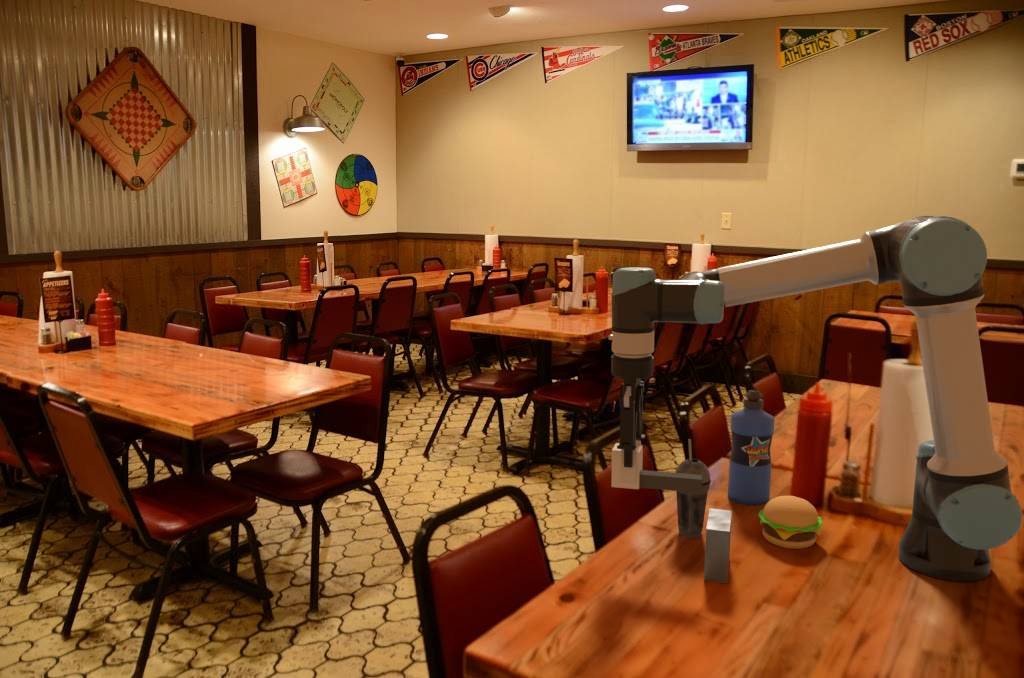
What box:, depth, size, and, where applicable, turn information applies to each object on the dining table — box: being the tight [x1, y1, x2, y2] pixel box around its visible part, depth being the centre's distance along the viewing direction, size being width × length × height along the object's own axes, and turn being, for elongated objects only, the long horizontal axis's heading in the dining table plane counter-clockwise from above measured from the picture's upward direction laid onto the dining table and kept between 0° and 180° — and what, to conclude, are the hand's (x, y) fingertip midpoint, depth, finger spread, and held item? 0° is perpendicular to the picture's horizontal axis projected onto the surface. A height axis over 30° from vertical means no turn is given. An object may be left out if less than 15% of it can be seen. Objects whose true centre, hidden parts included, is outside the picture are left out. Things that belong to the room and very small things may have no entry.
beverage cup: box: [674, 438, 712, 539], centre depth 161 cm, size 7×7×20 cm
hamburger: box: [758, 495, 823, 550], centre depth 160 cm, size 12×12×9 cm
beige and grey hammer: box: [611, 442, 703, 493], centre depth 147 cm, size 16×4×7 cm, turn 73°
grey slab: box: [703, 507, 733, 585], centre depth 146 cm, size 4×10×10 cm, turn 163°
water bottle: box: [727, 388, 776, 506], centre depth 180 cm, size 9×9×25 cm
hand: (630, 477), depth 149 cm, fingers closed on beige and grey hammer, 4 cm apart
